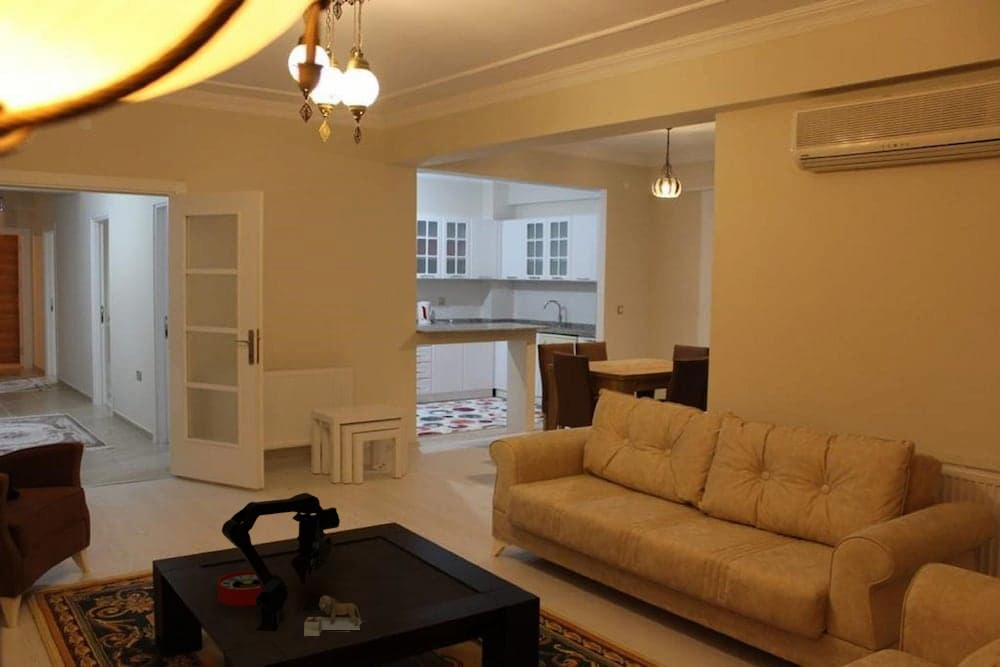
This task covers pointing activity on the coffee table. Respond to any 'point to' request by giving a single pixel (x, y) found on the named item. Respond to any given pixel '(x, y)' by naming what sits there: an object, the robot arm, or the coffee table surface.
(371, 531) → the coffee table surface
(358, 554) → the coffee table surface
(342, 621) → the grey mat
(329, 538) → the robot arm
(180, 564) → the coffee table surface
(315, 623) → the maple cube
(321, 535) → the toy figurine
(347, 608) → the lion figurine
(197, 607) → the coffee table surface
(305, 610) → the phone
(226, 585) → the toy clock
